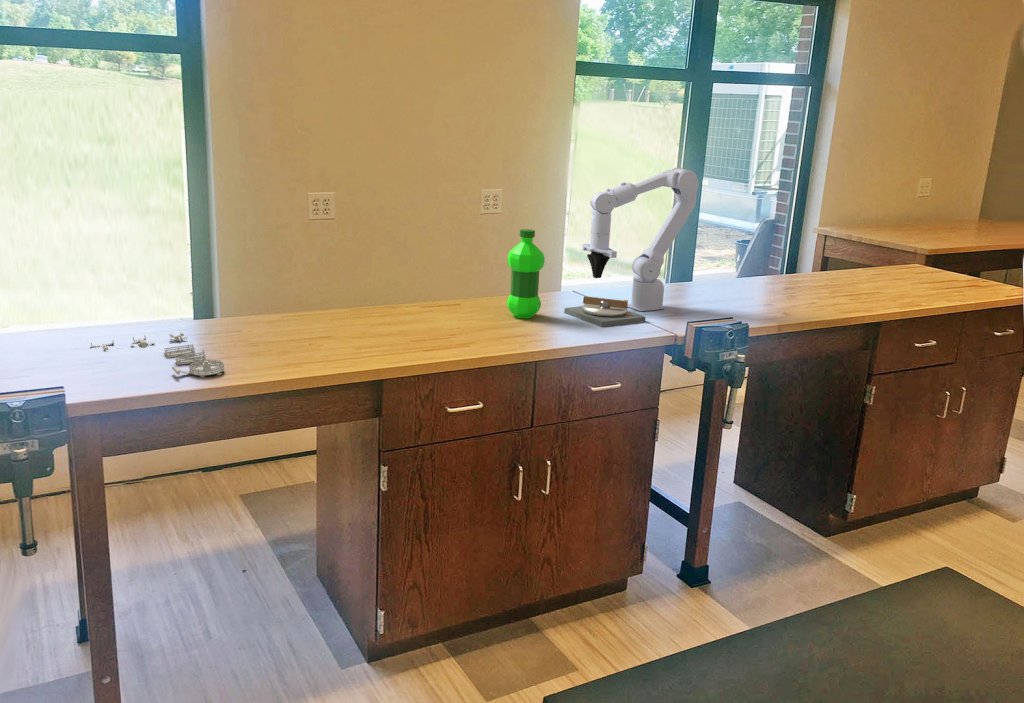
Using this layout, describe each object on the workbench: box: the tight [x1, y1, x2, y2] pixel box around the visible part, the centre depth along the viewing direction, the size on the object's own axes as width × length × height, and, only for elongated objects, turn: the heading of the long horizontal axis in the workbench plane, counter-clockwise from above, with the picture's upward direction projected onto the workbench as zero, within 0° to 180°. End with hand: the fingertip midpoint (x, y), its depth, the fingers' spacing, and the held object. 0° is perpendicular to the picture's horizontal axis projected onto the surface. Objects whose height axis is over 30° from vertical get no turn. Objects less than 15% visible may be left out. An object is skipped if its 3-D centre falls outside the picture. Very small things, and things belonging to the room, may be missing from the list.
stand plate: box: [563, 305, 646, 328], centre depth 259 cm, size 16×18×2 cm
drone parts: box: [90, 331, 225, 378], centre depth 198 cm, size 23×35×3 cm, turn 33°
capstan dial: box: [582, 295, 629, 317], centre depth 258 cm, size 13×13×4 cm
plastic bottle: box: [506, 228, 545, 319], centre depth 252 cm, size 10×10×25 cm
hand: (597, 277), depth 268 cm, fingers closed
